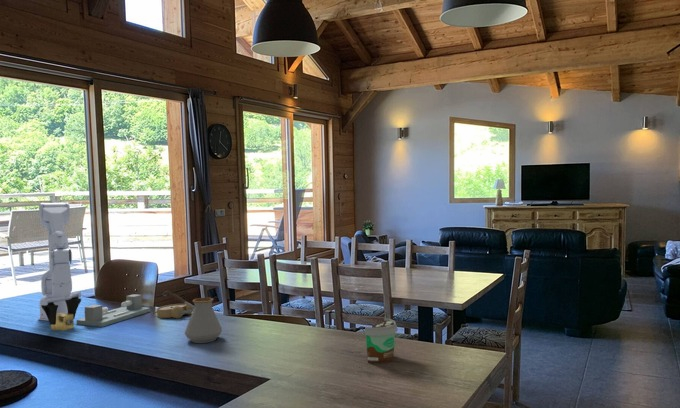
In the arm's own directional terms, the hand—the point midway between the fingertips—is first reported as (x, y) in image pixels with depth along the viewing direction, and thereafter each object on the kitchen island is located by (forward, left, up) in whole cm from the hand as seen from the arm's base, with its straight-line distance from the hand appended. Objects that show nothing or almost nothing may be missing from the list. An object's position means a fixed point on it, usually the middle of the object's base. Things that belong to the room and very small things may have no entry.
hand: (62, 321), depth 175 cm
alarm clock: (+26, +28, -3) cm, 38 cm away
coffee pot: (+51, +4, -3) cm, 51 cm away
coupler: (0, 0, -3) cm, 3 cm away
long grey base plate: (+6, +18, -2) cm, 19 cm away
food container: (+116, +3, -3) cm, 116 cm away
